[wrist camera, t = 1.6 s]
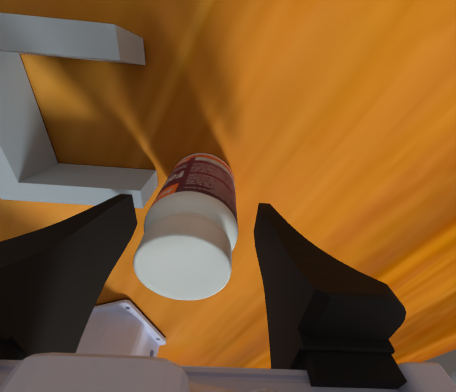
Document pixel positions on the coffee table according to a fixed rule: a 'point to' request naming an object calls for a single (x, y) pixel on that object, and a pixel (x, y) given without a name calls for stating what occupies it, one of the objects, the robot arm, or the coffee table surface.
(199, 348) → the coffee table surface
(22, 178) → the cradle
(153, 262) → the pill bottle
